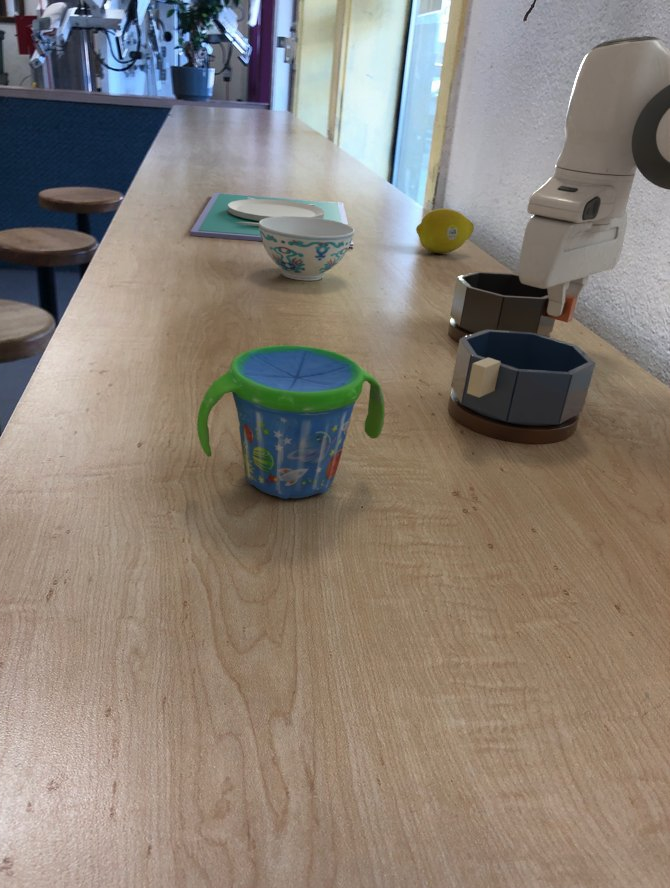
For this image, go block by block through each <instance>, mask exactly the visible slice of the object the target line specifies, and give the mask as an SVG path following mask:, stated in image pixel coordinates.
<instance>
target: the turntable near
mask: <svg viewBox="0 0 670 888" xmlns="http://www.w3.org/2000/svg"><path fill="white" fill-rule="evenodd" d="M447 409H448V412H449V415H450V416H451V417H452V418H453V419H454V420H455V421H456V422H458V423H459V424H460V425H462V426H464V427H465V428H467V429H470V430H472V431H473V432H476V433H479V434H481V435H484V436H486V437H490V438H493V439H497V440H501V441H506V442H512V443H519V444H520V443H521V444H534V445H535V444H540V445H541V444H543V445H544V444H552V443H558V442H562V441H564V440H567V439H569V438H571V437H572V436H573V435H574V434H575V432H576V430H577V427H578V424H579V420H580V413H579V414H577V415H575V416H574V417H572V418H570V419H568V420H567V421H565V422H563V423H561V424H558V425H547V426H529V425H519V424H513V423H507V422H503V421H499V420H495V419H492V418H489V417H486V416H483V415H481V414H479V413H477V412H475V411H473V410H471V409H469V408H468V407H466V406H463V405H462V404H461V403H460V401H459V399H458V398H457V396H456V394H455V392H454V390H453V388H451V390H450V394H449V399H448V405H447Z"/></svg>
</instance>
